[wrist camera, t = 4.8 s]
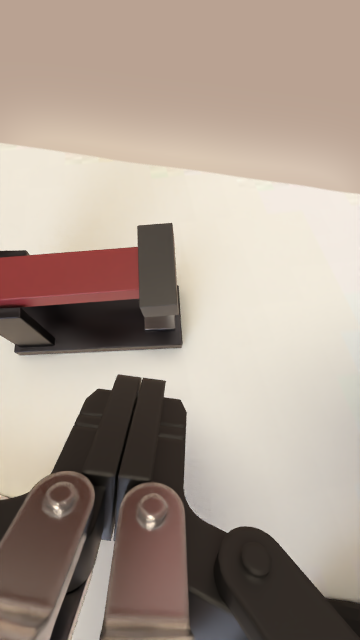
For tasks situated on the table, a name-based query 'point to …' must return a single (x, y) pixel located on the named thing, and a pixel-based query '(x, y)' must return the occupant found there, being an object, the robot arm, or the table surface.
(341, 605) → the gaming mouse
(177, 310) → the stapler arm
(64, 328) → the stapler base
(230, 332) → the table surface
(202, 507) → the table surface
